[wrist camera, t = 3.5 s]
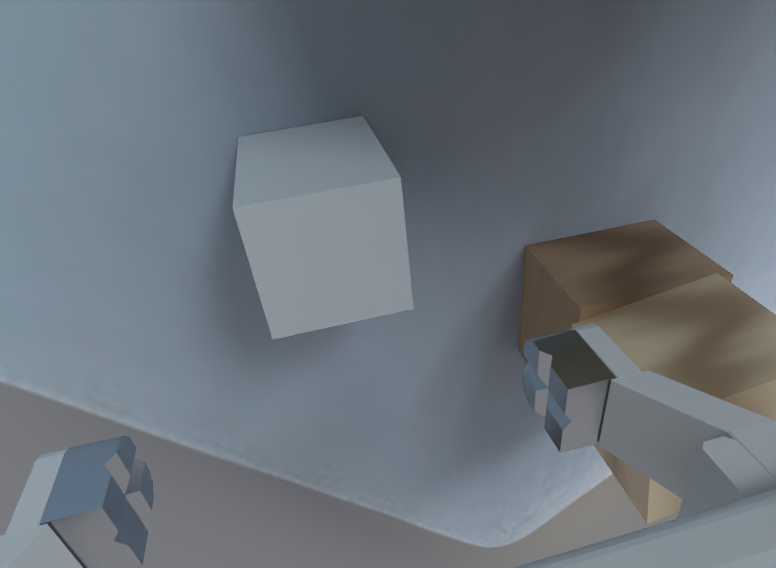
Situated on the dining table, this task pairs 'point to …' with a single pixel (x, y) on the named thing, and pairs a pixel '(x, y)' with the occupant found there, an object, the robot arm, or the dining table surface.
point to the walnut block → (603, 274)
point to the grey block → (322, 225)
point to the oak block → (694, 360)
